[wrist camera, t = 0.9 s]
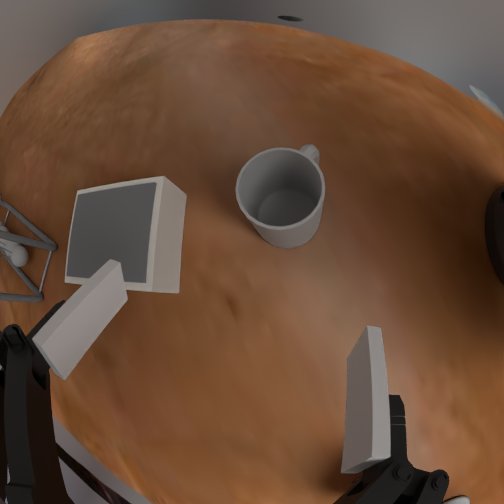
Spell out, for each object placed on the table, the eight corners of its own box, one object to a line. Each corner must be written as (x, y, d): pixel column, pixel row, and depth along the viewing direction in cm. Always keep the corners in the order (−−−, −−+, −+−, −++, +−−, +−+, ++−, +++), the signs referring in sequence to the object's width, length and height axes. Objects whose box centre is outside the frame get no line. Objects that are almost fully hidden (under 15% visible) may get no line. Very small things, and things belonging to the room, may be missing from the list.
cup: (243, 229, 30) (218, 203, 22) (287, 158, 31) (279, 113, 22) (299, 262, 29) (297, 247, 20) (342, 185, 29) (353, 145, 20)
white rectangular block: (186, 195, 32) (162, 174, 26) (179, 293, 31) (150, 291, 24) (104, 203, 35) (75, 189, 29) (94, 285, 33) (62, 282, 27)
